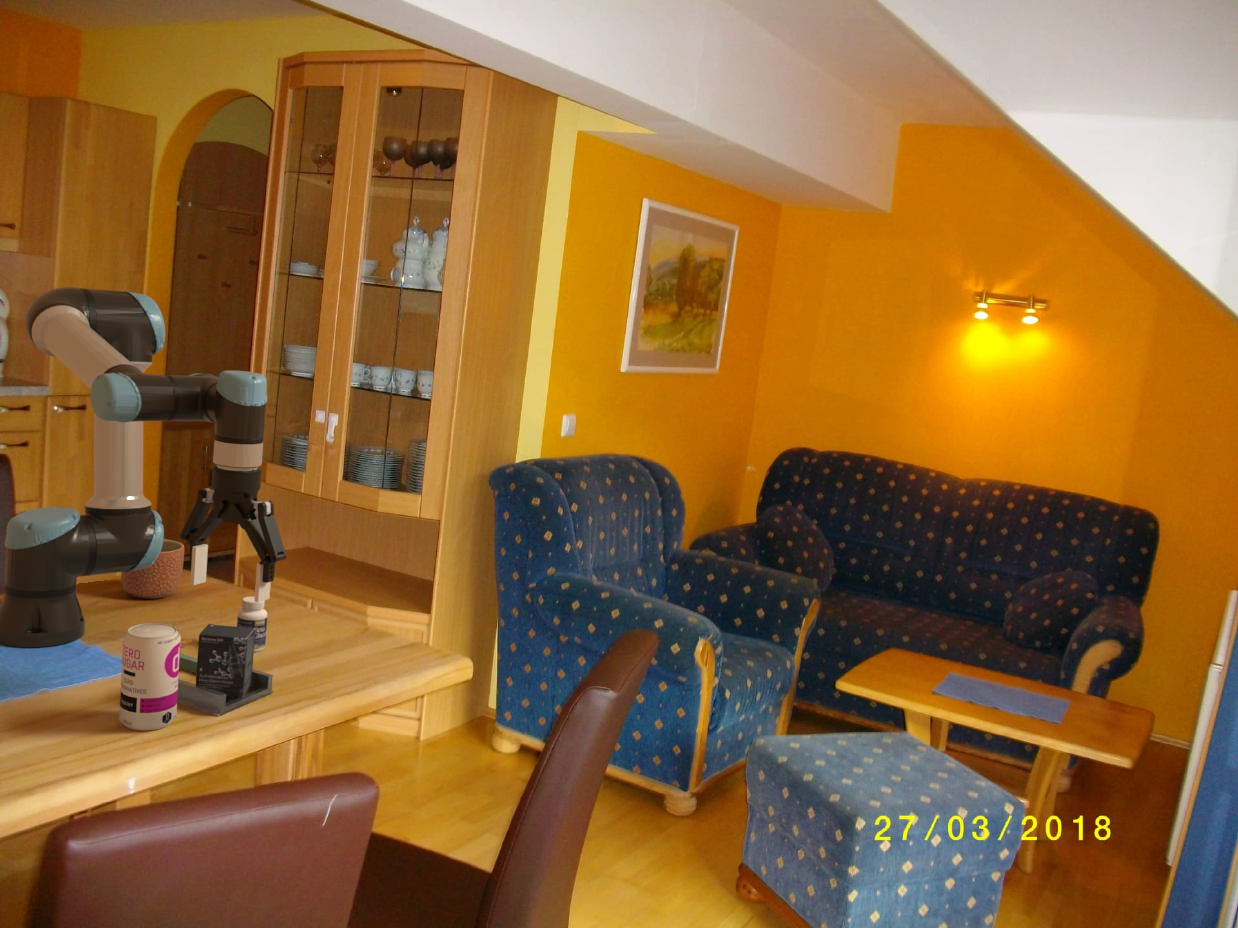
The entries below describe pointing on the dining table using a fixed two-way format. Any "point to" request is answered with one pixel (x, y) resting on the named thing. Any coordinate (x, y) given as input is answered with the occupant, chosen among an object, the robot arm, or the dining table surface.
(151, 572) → the planter
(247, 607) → the pill bottle
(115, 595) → the dining table surface
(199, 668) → the box
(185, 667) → the green bar
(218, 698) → the keeper
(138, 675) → the supplement can
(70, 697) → the dining table surface
